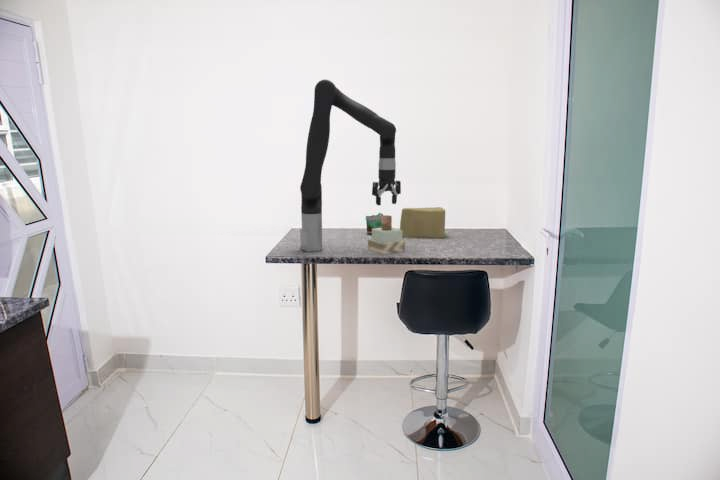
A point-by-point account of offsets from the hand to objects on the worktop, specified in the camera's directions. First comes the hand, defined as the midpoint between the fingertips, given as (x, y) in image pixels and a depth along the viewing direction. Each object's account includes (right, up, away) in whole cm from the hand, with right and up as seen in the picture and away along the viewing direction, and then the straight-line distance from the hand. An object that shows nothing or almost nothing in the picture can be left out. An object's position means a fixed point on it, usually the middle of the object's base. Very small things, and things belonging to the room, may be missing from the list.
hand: (386, 204), depth 229 cm
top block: (0, -16, +3) cm, 17 cm away
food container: (-3, -13, +39) cm, 41 cm away
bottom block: (0, -21, +4) cm, 22 cm away
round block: (0, -11, +3) cm, 11 cm away
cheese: (+20, -15, +31) cm, 40 cm away
